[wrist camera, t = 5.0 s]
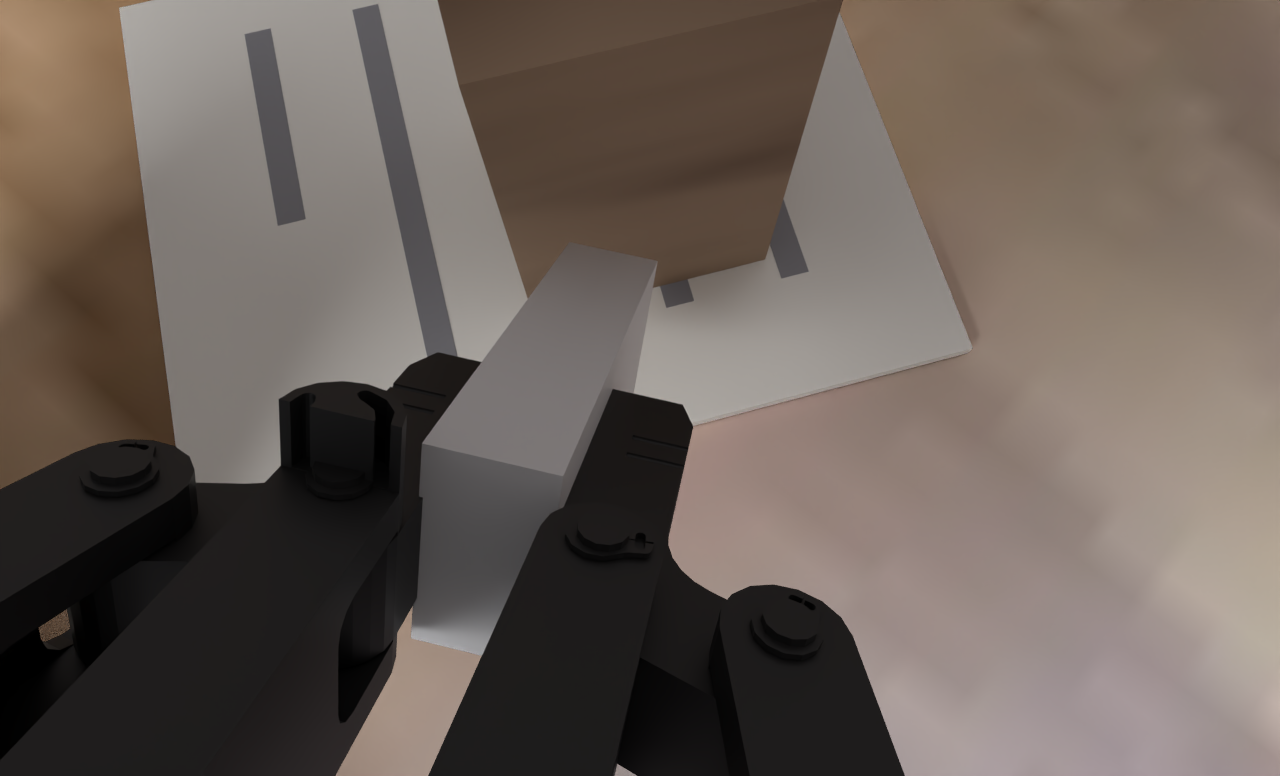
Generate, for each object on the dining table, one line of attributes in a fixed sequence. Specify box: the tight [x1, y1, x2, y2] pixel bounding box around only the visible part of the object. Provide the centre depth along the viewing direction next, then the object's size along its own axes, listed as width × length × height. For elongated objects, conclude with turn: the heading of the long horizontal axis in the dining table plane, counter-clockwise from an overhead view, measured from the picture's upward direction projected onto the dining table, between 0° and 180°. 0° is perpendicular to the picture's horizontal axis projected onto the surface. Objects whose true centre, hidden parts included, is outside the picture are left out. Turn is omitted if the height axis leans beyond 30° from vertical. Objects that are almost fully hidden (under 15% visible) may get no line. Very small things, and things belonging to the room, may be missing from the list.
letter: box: [119, 0, 973, 484], centre depth 20 cm, size 13×16×1 cm
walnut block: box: [438, 0, 843, 298], centre depth 16 cm, size 5×5×8 cm
